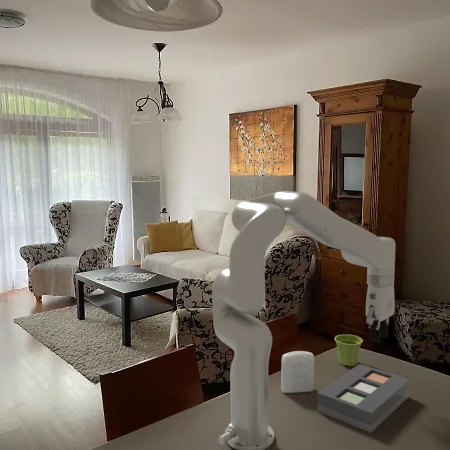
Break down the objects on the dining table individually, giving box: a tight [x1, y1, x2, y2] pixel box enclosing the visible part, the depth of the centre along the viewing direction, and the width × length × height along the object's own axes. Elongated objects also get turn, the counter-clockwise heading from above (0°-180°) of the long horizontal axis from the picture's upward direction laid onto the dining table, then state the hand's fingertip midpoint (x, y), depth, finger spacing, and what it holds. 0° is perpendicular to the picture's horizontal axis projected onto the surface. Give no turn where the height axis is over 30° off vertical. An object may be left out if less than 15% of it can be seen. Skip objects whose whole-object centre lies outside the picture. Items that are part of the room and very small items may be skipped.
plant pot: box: [334, 334, 364, 367], centre depth 160 cm, size 9×9×9 cm
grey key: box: [353, 382, 377, 394], centre depth 133 cm, size 6×6×2 cm
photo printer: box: [280, 350, 315, 394], centre depth 141 cm, size 10×4×12 cm, turn 98°
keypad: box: [316, 363, 411, 434], centre depth 133 cm, size 25×16×6 cm, turn 137°
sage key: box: [340, 392, 364, 405], centre depth 127 cm, size 6×6×2 cm
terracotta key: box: [366, 373, 389, 384], centre depth 138 cm, size 6×6×2 cm
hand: (378, 338), depth 137 cm, fingers open, 4 cm apart
